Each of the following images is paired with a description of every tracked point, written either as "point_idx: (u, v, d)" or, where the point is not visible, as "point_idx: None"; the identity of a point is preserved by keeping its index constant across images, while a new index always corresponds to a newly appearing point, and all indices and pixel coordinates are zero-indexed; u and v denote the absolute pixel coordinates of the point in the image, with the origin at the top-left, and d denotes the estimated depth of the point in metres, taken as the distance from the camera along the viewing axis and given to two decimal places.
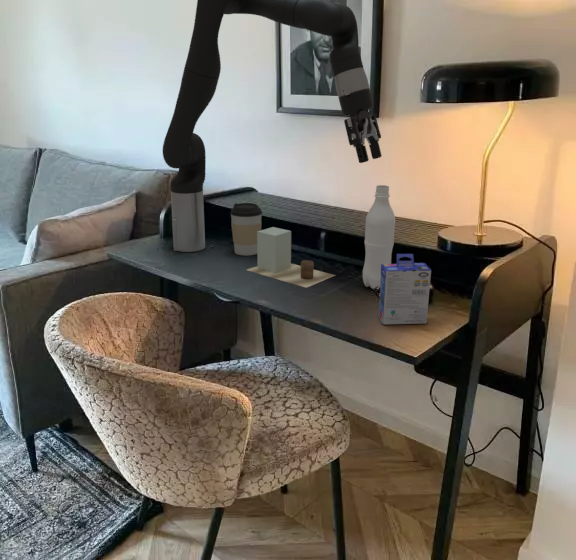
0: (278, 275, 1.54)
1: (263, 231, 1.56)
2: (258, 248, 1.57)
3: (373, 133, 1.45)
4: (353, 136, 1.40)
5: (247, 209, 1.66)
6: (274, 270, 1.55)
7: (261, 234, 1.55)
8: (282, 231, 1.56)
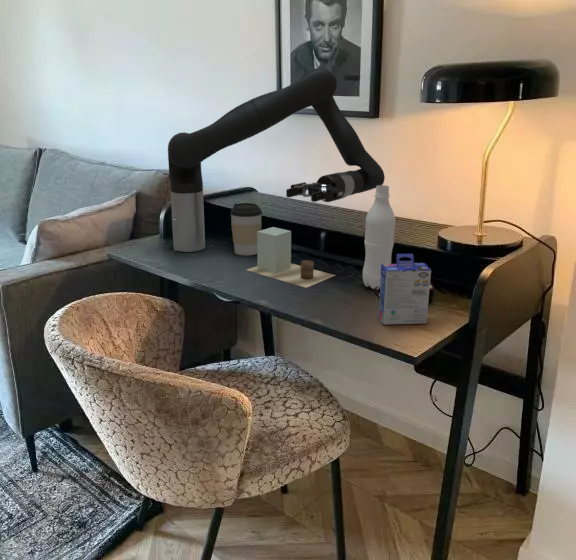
0: (278, 275, 1.54)
1: (263, 231, 1.56)
2: (258, 248, 1.57)
3: (305, 194, 1.67)
4: (326, 189, 1.63)
5: (247, 209, 1.66)
6: (274, 270, 1.55)
7: (261, 234, 1.55)
8: (282, 231, 1.56)
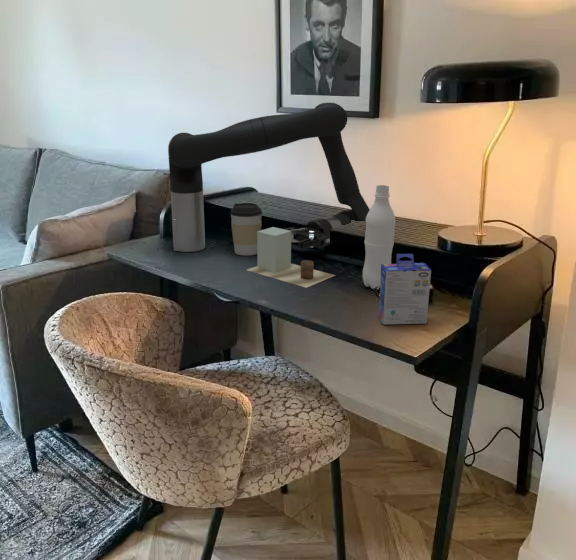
0: (278, 275, 1.54)
1: (263, 231, 1.56)
2: (258, 248, 1.57)
3: (292, 240, 1.68)
4: (313, 236, 1.63)
5: (247, 209, 1.66)
6: (274, 270, 1.55)
7: (261, 234, 1.55)
8: (282, 231, 1.56)
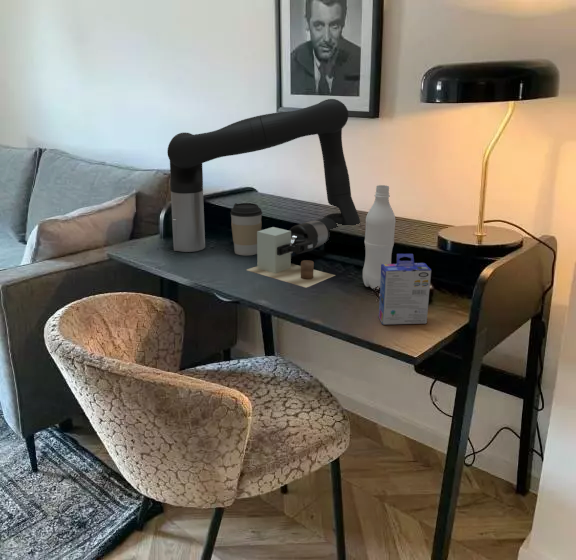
0: (278, 275, 1.54)
1: (263, 231, 1.56)
2: (258, 248, 1.57)
3: None
4: (294, 242, 1.58)
5: (247, 209, 1.66)
6: (274, 270, 1.55)
7: (261, 234, 1.55)
8: (282, 231, 1.56)
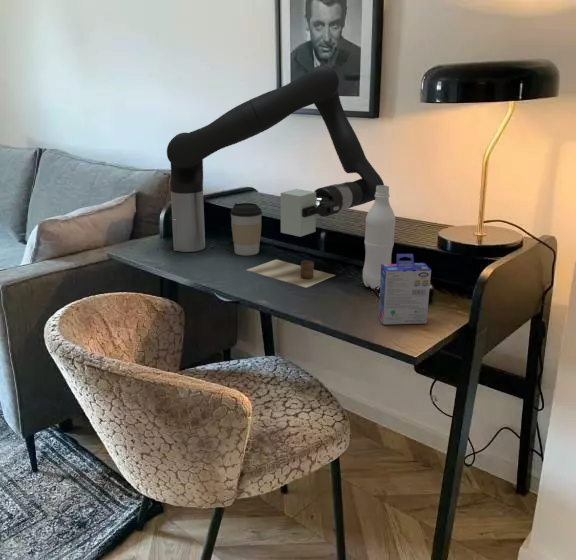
0: (278, 275, 1.54)
1: (287, 192, 1.48)
2: (281, 210, 1.49)
3: None
4: (319, 204, 1.50)
5: (247, 209, 1.66)
6: (299, 233, 1.48)
7: (285, 195, 1.47)
8: (307, 192, 1.48)
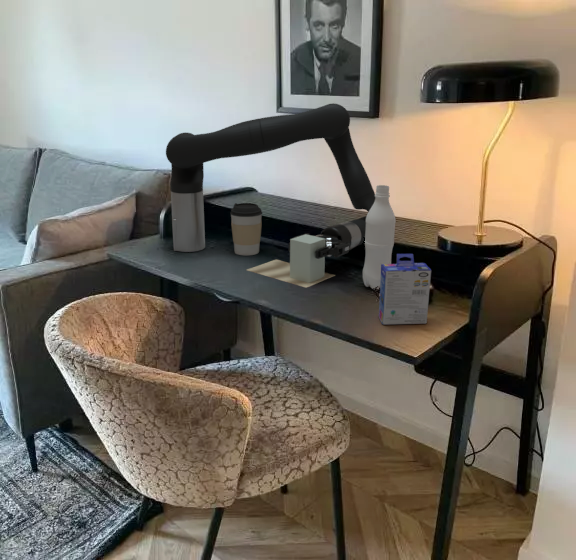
0: (278, 275, 1.54)
1: (296, 239, 1.49)
2: (291, 256, 1.51)
3: None
4: (331, 244, 1.51)
5: (247, 209, 1.66)
6: (308, 280, 1.49)
7: (295, 242, 1.49)
8: (316, 239, 1.50)
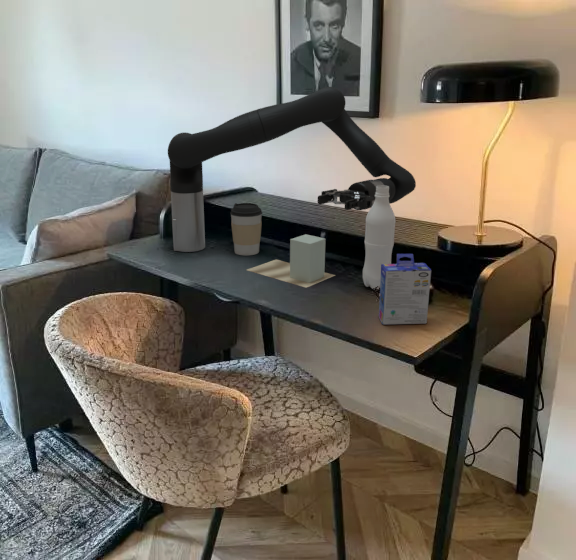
0: (278, 275, 1.54)
1: (296, 239, 1.49)
2: (291, 256, 1.51)
3: (336, 202, 1.61)
4: (359, 197, 1.56)
5: (247, 209, 1.66)
6: (308, 280, 1.49)
7: (295, 242, 1.49)
8: (316, 239, 1.50)
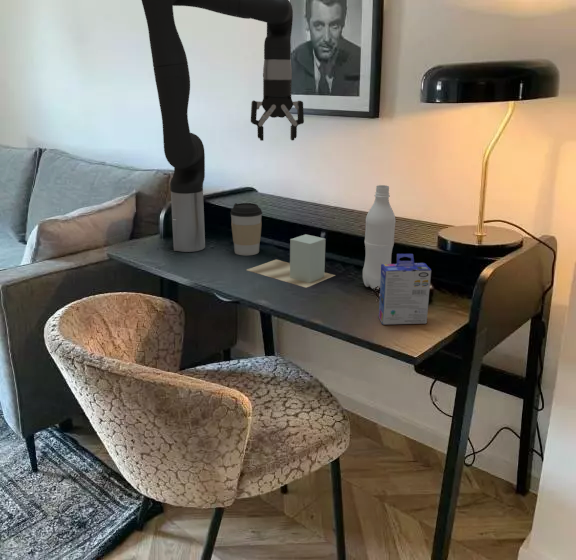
0: (278, 275, 1.54)
1: (296, 239, 1.49)
2: (291, 256, 1.51)
3: None
4: (292, 116, 1.64)
5: (247, 209, 1.66)
6: (308, 280, 1.49)
7: (295, 242, 1.49)
8: (316, 239, 1.50)
